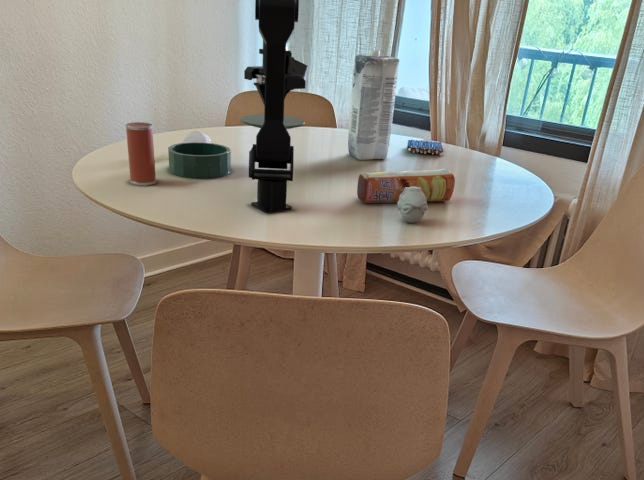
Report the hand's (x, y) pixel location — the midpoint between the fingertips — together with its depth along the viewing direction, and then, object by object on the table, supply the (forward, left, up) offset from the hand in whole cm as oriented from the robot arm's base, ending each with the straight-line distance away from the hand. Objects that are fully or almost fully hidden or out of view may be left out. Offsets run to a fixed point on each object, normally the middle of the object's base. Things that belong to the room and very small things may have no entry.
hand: (273, 115), depth 158 cm
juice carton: (+1, -32, -13) cm, 35 cm away
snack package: (-37, -12, -13) cm, 41 cm away
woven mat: (0, -54, -12) cm, 55 cm away
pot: (+5, +18, -13) cm, 22 cm away
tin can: (0, +34, -13) cm, 37 cm away
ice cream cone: (+20, +12, -13) cm, 26 cm away
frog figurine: (-48, -3, -13) cm, 50 cm away
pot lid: (0, 0, -2) cm, 2 cm away
